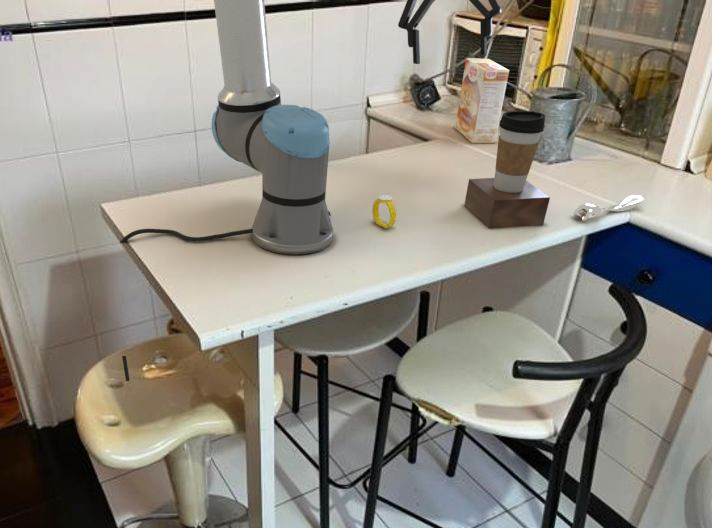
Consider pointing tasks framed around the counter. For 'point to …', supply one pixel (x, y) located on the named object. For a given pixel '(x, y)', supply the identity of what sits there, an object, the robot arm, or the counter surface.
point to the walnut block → (506, 204)
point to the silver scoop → (591, 210)
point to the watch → (392, 210)
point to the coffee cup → (517, 148)
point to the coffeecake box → (481, 100)
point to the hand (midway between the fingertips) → (449, 59)
